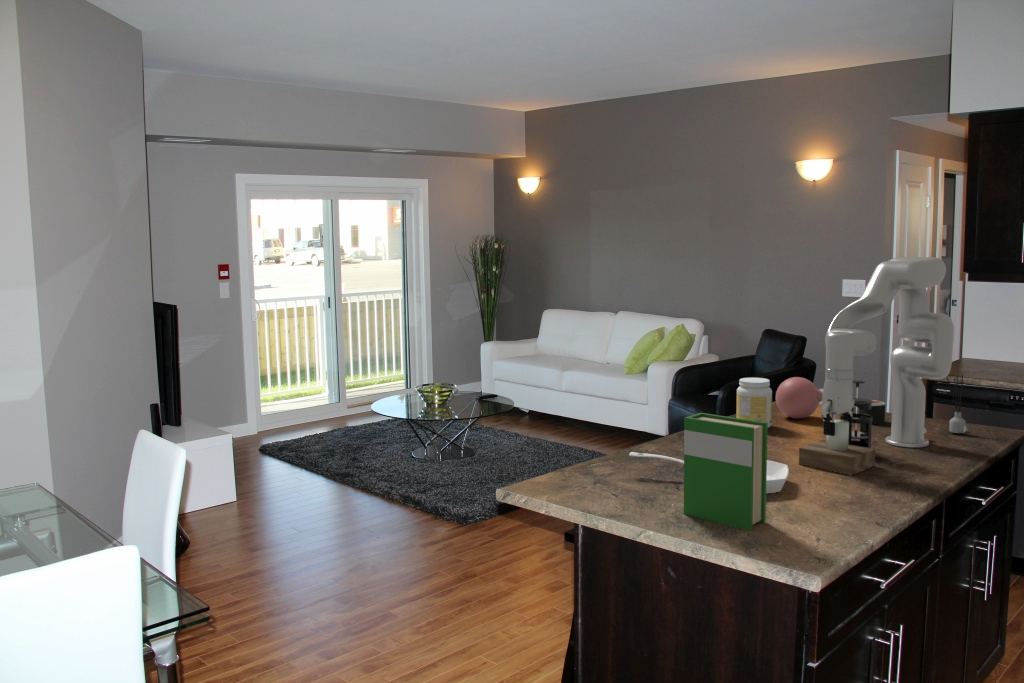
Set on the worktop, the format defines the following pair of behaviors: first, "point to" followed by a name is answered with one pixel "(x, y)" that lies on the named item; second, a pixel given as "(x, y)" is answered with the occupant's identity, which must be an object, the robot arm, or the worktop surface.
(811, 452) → the brown wooden block
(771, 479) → the pan
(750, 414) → the supplement tub
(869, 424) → the french press
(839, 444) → the white rounded capsule
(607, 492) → the worktop surface
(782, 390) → the balloon
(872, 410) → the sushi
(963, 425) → the reed diffuser
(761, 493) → the hardback book
